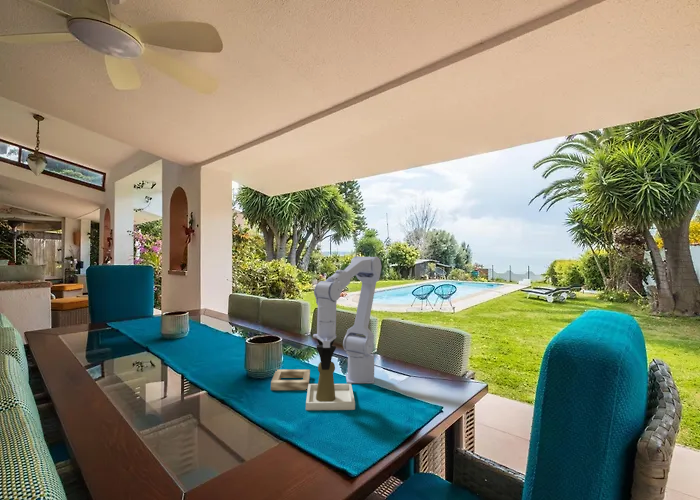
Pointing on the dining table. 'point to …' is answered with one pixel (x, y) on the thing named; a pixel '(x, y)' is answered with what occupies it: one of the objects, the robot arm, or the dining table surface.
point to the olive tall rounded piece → (326, 384)
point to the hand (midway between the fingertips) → (325, 365)
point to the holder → (290, 384)
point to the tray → (340, 403)
